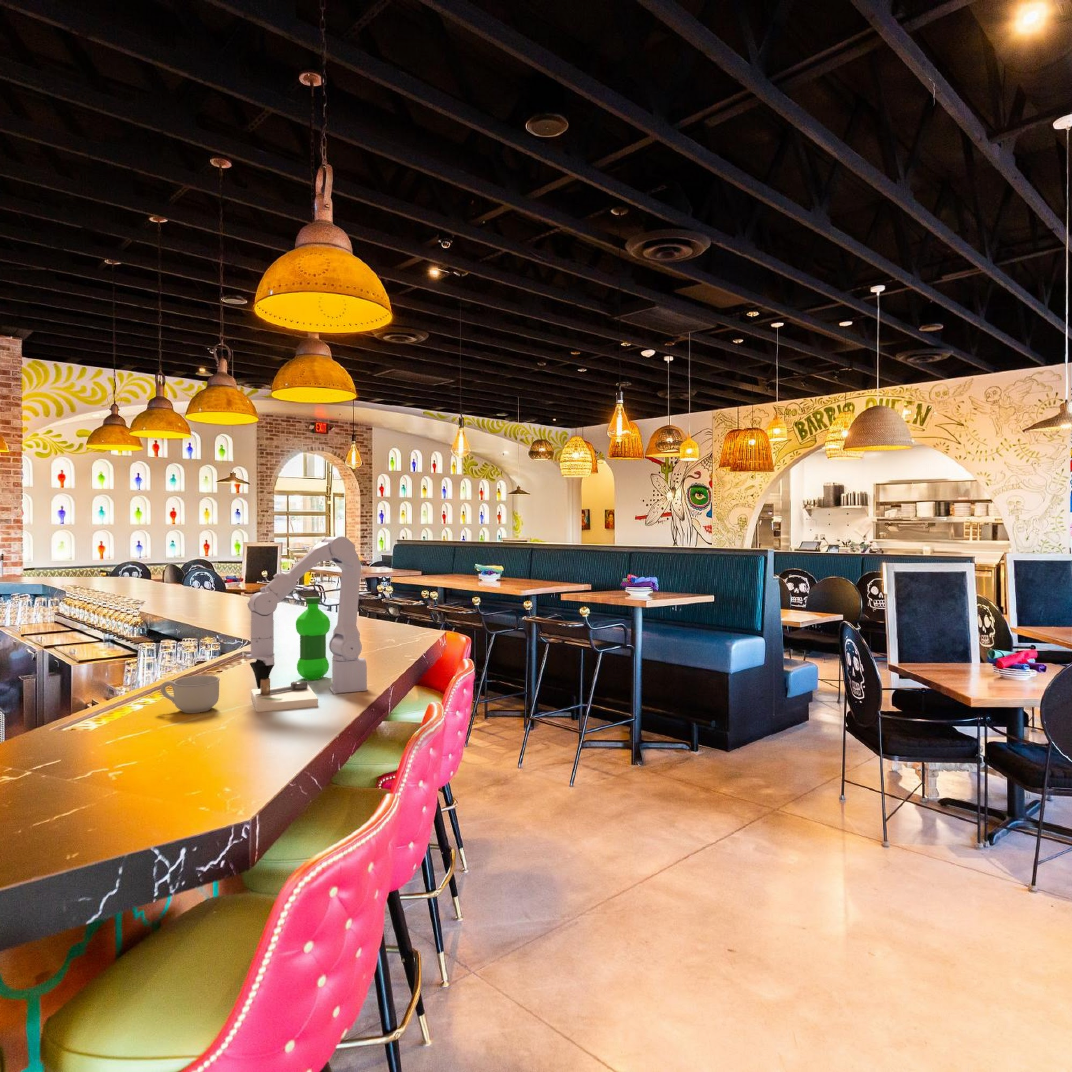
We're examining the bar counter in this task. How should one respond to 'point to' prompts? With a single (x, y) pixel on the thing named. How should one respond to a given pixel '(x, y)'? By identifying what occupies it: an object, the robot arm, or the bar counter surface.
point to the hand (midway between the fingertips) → (262, 688)
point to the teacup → (193, 693)
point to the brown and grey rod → (266, 688)
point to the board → (284, 699)
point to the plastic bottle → (312, 641)
